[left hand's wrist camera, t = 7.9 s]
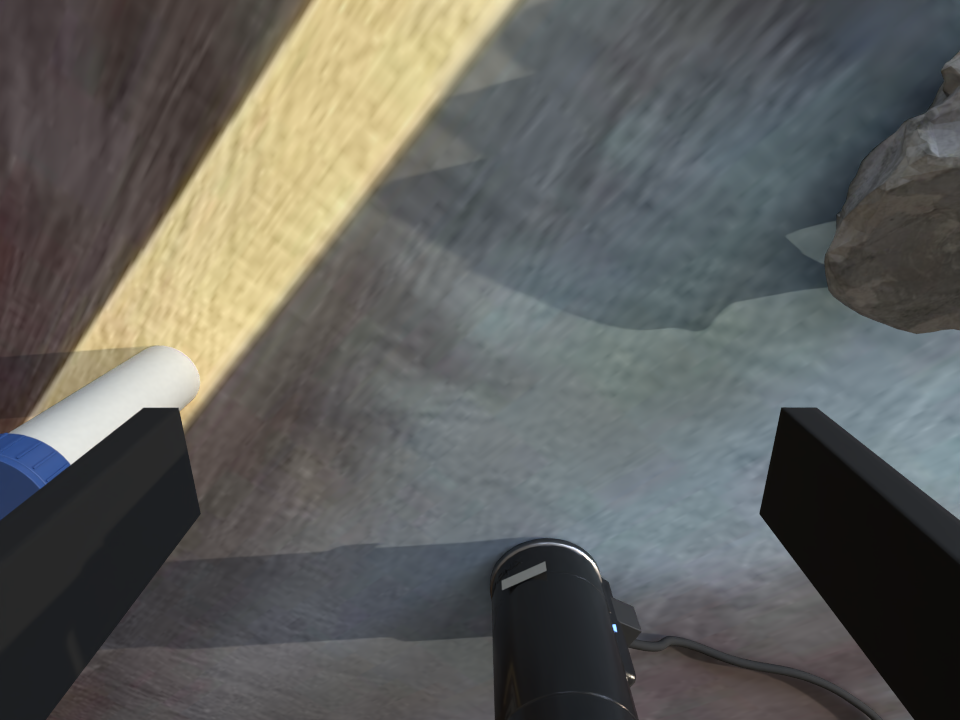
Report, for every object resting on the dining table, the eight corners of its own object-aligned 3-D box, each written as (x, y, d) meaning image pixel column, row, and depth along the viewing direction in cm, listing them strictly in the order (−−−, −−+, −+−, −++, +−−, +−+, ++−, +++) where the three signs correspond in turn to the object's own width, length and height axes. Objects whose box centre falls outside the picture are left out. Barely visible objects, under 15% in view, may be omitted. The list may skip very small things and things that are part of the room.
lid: (-58, 477, 29) (-99, 502, 27) (8, 409, 28) (-30, 430, 26) (40, 548, 31) (8, 577, 29) (107, 487, 29) (78, 513, 27)
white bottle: (119, 373, 42) (-77, 497, 27) (161, 331, 41) (-19, 438, 26) (171, 418, 44) (12, 560, 29) (214, 379, 42) (71, 507, 28)
